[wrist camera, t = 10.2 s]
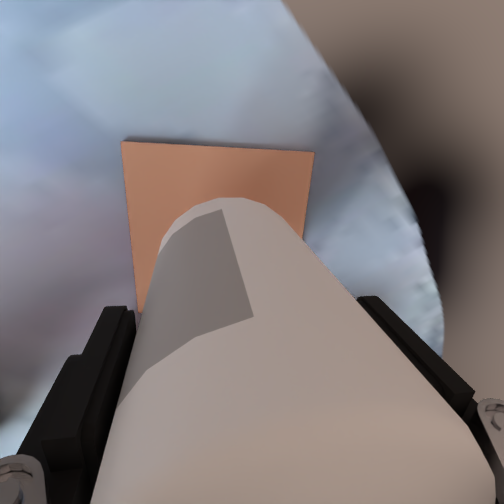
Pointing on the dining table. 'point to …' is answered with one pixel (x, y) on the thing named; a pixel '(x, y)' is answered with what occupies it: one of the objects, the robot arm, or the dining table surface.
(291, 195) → the thin terracotta tile
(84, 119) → the dining table surface
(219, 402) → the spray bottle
